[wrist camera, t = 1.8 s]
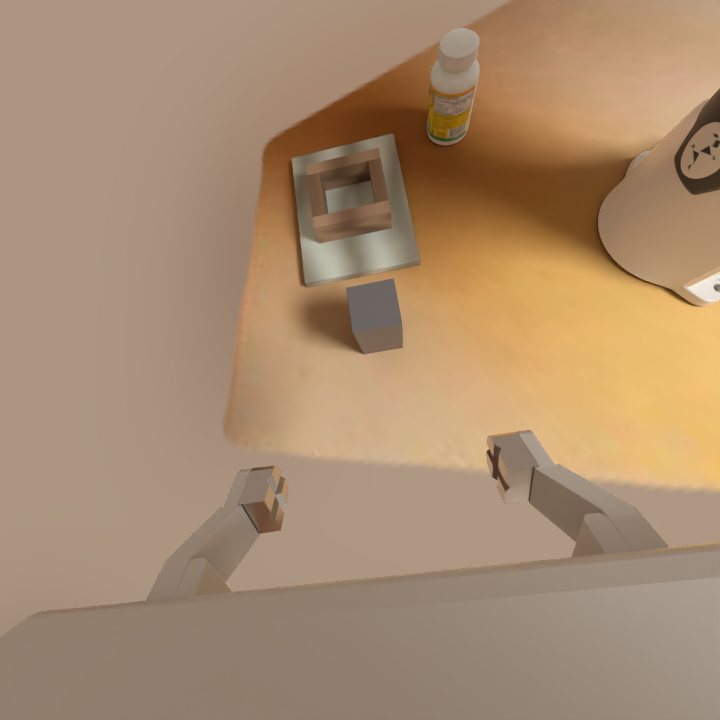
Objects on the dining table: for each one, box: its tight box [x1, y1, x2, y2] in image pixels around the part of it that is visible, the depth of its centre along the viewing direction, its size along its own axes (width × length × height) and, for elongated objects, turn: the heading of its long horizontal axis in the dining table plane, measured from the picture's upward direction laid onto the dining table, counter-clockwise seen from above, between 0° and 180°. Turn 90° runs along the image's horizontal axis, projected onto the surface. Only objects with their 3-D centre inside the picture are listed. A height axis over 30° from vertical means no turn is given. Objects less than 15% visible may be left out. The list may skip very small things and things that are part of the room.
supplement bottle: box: [427, 28, 480, 146], centre depth 36 cm, size 5×5×10 cm
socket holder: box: [292, 133, 420, 287], centre depth 38 cm, size 14×19×4 cm
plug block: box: [346, 279, 403, 354], centre depth 32 cm, size 4×4×8 cm
